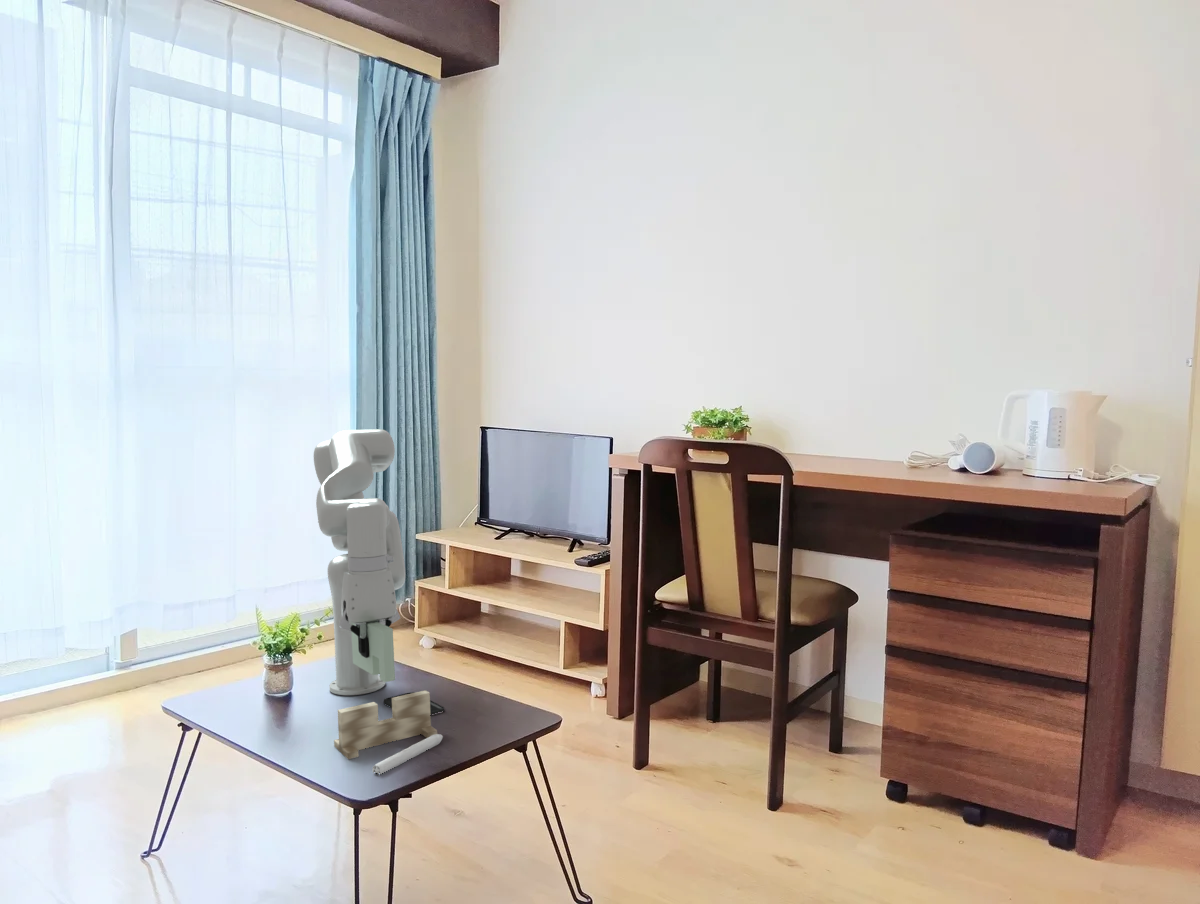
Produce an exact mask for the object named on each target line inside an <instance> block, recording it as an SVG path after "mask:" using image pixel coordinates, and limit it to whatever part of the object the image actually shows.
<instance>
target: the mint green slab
mask: <svg viewBox="0 0 1200 904" xmlns="http://www.w3.org/2000/svg"><path fill="white" fill-rule="evenodd" d="M351 624H353V625H355V624H354V623H351ZM366 634H367V638H368V639H369V657H368V658H365V657H363V656H362V655H361V654H360V653H359V648H358V636H357V635H356V634H354V633H353V632H352V652H353V664H355V665H357V666H358V667H360V668H362V669H363V670H365V671H367V672H369V673H370V674H372V675H377V674H378V675H379V676H380V680H382V681H384V682H385V683H388V682H392V681H393V682H394V681H396V673H395V671H396V669H395V652H394V651H395V650H394V649H395V647H394V630H393V628H392V627H391V626H389V627H388V626H385V625H383V624H381V623H379V622H376V621H370V622H366Z"/></svg>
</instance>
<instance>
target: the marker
mask: <svg viewBox="0 0 1200 904" xmlns="http://www.w3.org/2000/svg"><path fill="white" fill-rule="evenodd" d="M443 738H444V736H443V735H442V734H440V733H437V734H435V735H432V736H430V737H428V738H426V737H425V738H424V739H422V740H420V741H419V742H416V743H414V744H412V745H410V746H409V747H407V748H404V749H401V751H398V752H397V753H394V754H393V755H391V756H389V757H387V758H385V759H383V760H381V761H379V762H377V763H375V764H374V765H373V766H372V773H373V774H374V772H375V773H377V775H378V774H379V773H380V774H381V775H383V774H385V773H387V772H389V771H391V770H393V769H394V767H395V768H396V767H398V766H401V765H402V764H403V763H406V762H408V761H409V759H410V760H412V759H413V758H415V757H417V756H420V755H421V754H423V753H424V752H426V750H427V751H428V749H429V750H430V749H432V748H434V747H436V746H438V745H439V744H440V743H441V742H442V740H443ZM411 758H412V759H411ZM407 760H408V761H407ZM392 768H393V769H392ZM390 769H391V770H390ZM388 770H389V771H388ZM386 771H387V772H386ZM384 772H385V773H384ZM382 773H383V774H382Z"/></svg>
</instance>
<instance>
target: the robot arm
mask: <svg viewBox="0 0 1200 904" xmlns="http://www.w3.org/2000/svg"><path fill="white" fill-rule="evenodd" d="M395 449H396V448H395V443H394V440H393V437H392V435H391V434H390V433H389V432H388V431H387V430H385V429H381V428H380V429H379V428H378V429H377V428H374V429H373V428H372V429H348V430H342V431H338V432H337V433H335V434H334V435H333V436H331V438H330V439H329V440H325V441H322V442H320V443H318V444H317V445H316V446H315V447H314V450H313V465H314V469H315V474H316V477H317V479H318V482H319V484H320V487H319V488H318V490H317V494H316V500H315V502H316V505H315V506H316V507H315V508H316V515H317V523H318V526H319V527H318V528H319V530H320V531H321V533H322V534H323V535H324V536H327V537H330V538H331V543H332V545H333V547H334V548H335V549H336V550H338V551H341V552H347V553H344V554H340V555H338V556H336V557H335V556H334V557H333V558H332V559H331V560H330V561H329V563H328V565H327V578H328V584H329V590H330V594H331V595H330V597H331V601H332V602H331V603H332V613H333V614H332V615H333V634H334V635H333V636H334V637H333V638H334V657H335V659H334V661H335V679H334V680H333V681H331V683H330V684H329V692H331V693H332V694H334V695H339V696H359V695H365V694H366V695H367V694H371V693H373V692H377V691H378V690H381V689H382V688H383V687H384V686H385V685H386V682H384V681H382V680H380V674H377V675H372V674H370V673H369V672H367V671H365V670H363V669H362V668H360V667H358V666H357V665H355V664H353V652H352V632H353V633H354V634H356V635H357V636H358V648H359V653H360V654H361V655H362V656H363V657H365V658H368V657H369V639H368V638H367V634H366V622H370V621H376V622H379V623H381V624H383V625H385V626H388V627H391V625H393V624H394V623H396V622H397V621H399V620H400V619H401V615H400V613H399V612H398V609H397V599H396V598H397V597H396V591H397V590H399V589H401V588H402V587H403V586H404V585H405V582H406V565H405V558H404V551H403V550H404V549H403V543H402V535H401V529H400V523H399V519H398V518H397V515H396V514H395V513H394V512H393V511H392V510H391V509H390V507H389V505H388V504H386V502H385V501H384V500H383V499H382V498H378V497H369V498H368V497H366V498H365V495H364V493H363V491H366V489H368V488H369V487H370V485H371V484H372V483H373V480H374V473H381V472H384V471H386V470H387V469H388V468H389V466H390V465H391V464H392V463H393V461H394V458H395ZM351 623H354V624H355V625H353V624H351Z"/></svg>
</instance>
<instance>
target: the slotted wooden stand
mask: <svg viewBox="0 0 1200 904" xmlns="http://www.w3.org/2000/svg"><path fill="white" fill-rule="evenodd" d="M415 692H416V693H411V694H407V695H402V696H398V697H393V696H392V697H393V698H392V708H391V711H392V712H391V715H392V716H391V717H390V718H386V719H382V720H379V704H378V703H377V702H375V701H372V702H367V703H362V704H359V705H353V706H349V707H345V708H339V709H337V724H338V725H337V726H338V727H337V728H338V730H337V731H338V738H337V739H334V740H333V746H334V748H336V749H337V750H338V751H339V752H340V753H341V754H342V756H344V757H345V758H346V759H347V760H351V759H355V758H359V751H362V750H365V748H366V749H369V747H370V748H372V747H373V746H374V747H377V746H380V745H385V744H388V742H389V743H393V742H397V741H401V740H404V739H408V738H412V737H416V736H420V734H421V735H422V736H424V737H425V739H426V738H428V737H430V736H432V735H435V734H438V729H436V728H434V727H433V726H432V719H431V717H432V716H430V715H431V714H430V700H431V696H430V695H431V693H430V692H429V691H427V690H421V691H415ZM396 740H397V741H396ZM392 741H393V742H392ZM384 743H385V744H384Z"/></svg>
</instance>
